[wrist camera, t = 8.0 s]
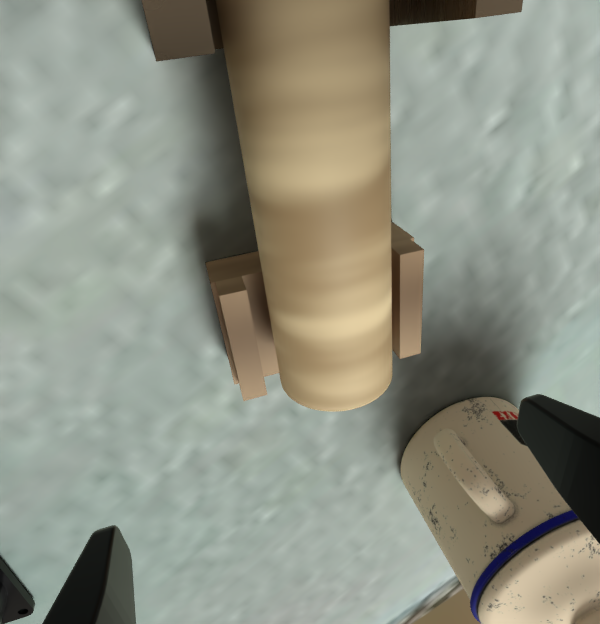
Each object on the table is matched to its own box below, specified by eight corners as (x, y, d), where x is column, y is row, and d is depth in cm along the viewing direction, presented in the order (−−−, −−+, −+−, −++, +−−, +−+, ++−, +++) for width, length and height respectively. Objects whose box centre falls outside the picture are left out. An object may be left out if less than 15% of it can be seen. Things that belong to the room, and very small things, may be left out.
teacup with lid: (539, 436, 32) (712, 609, 22) (434, 513, 33) (553, 711, 23) (469, 335, 25) (669, 517, 15) (341, 436, 26) (452, 664, 17)
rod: (373, 331, 20) (409, 397, 17) (274, 350, 20) (288, 422, 16) (355, -176, 12) (420, -275, 8) (186, -160, 12) (174, -256, 8)
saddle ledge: (393, 316, 23) (424, 352, 20) (228, 358, 22) (238, 402, 19) (392, 222, 20) (428, 248, 18) (205, 262, 19) (213, 297, 16)
